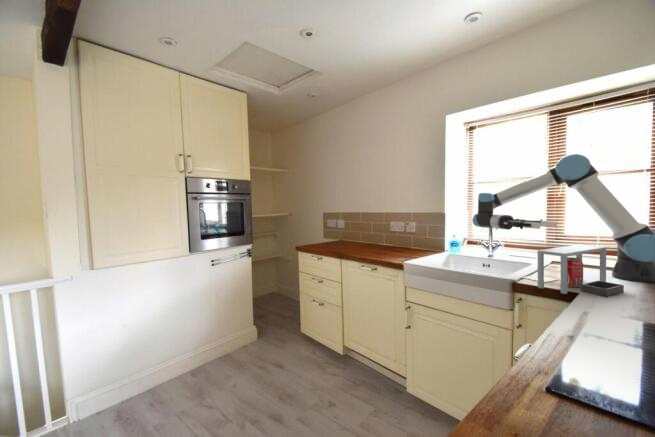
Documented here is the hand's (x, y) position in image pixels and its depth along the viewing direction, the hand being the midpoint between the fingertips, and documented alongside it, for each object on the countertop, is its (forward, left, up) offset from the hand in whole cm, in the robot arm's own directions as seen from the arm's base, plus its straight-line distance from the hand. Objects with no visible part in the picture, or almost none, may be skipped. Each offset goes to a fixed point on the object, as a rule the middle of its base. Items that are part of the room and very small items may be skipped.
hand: (548, 225), depth 126 cm
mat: (0, -4, -26) cm, 26 cm away
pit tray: (0, +19, -26) cm, 32 cm away
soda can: (0, +9, -26) cm, 28 cm away
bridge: (0, +9, -26) cm, 28 cm away
